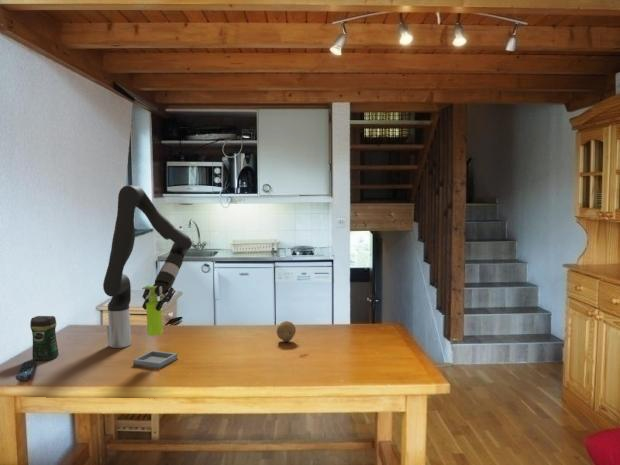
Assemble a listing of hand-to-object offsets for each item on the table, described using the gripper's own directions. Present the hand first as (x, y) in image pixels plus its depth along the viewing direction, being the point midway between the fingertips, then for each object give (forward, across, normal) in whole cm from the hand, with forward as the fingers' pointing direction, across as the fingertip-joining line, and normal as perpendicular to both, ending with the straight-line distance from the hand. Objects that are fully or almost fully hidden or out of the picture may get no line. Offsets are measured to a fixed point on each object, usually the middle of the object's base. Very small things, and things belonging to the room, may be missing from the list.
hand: (150, 309), depth 198 cm
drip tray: (+15, 0, +17) cm, 23 cm away
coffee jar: (+23, -49, +10) cm, 55 cm away
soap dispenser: (+7, 0, +9) cm, 11 cm away
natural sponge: (-13, +42, +47) cm, 64 cm away
